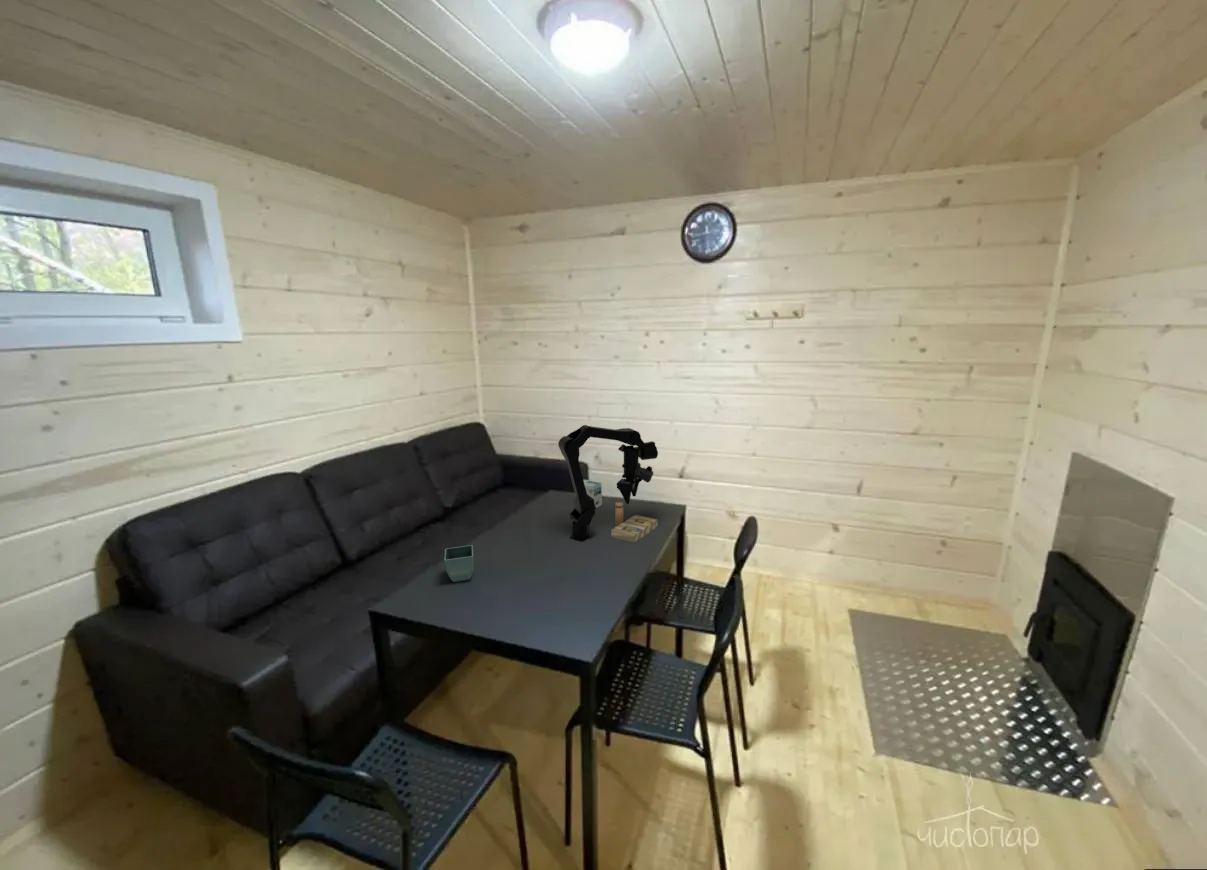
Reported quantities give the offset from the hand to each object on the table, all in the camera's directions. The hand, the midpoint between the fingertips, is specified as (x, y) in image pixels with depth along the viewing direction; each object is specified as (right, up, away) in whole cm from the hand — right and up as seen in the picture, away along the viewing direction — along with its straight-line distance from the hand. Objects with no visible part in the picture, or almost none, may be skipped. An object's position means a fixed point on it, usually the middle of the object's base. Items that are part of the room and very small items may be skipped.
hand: (631, 499), depth 199 cm
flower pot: (-57, -21, -35) cm, 70 cm away
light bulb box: (-17, -6, +29) cm, 34 cm away
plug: (-4, -11, +6) cm, 13 cm away
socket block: (+1, -12, -2) cm, 12 cm away
